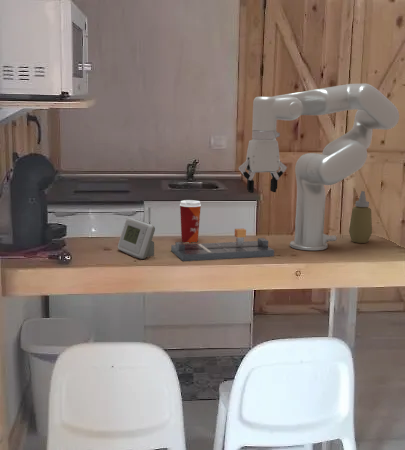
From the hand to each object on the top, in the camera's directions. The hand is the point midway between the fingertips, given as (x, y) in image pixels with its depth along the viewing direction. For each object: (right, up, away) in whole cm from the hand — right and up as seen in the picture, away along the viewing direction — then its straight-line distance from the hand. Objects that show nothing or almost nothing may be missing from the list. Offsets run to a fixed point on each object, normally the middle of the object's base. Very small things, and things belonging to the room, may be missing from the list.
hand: (262, 191), depth 212 cm
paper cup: (-24, -17, +17) cm, 34 cm away
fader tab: (-7, -17, +1) cm, 19 cm away
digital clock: (-40, -20, -3) cm, 45 cm away
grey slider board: (-13, -20, 0) cm, 24 cm away
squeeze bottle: (+37, -17, +22) cm, 46 cm away
